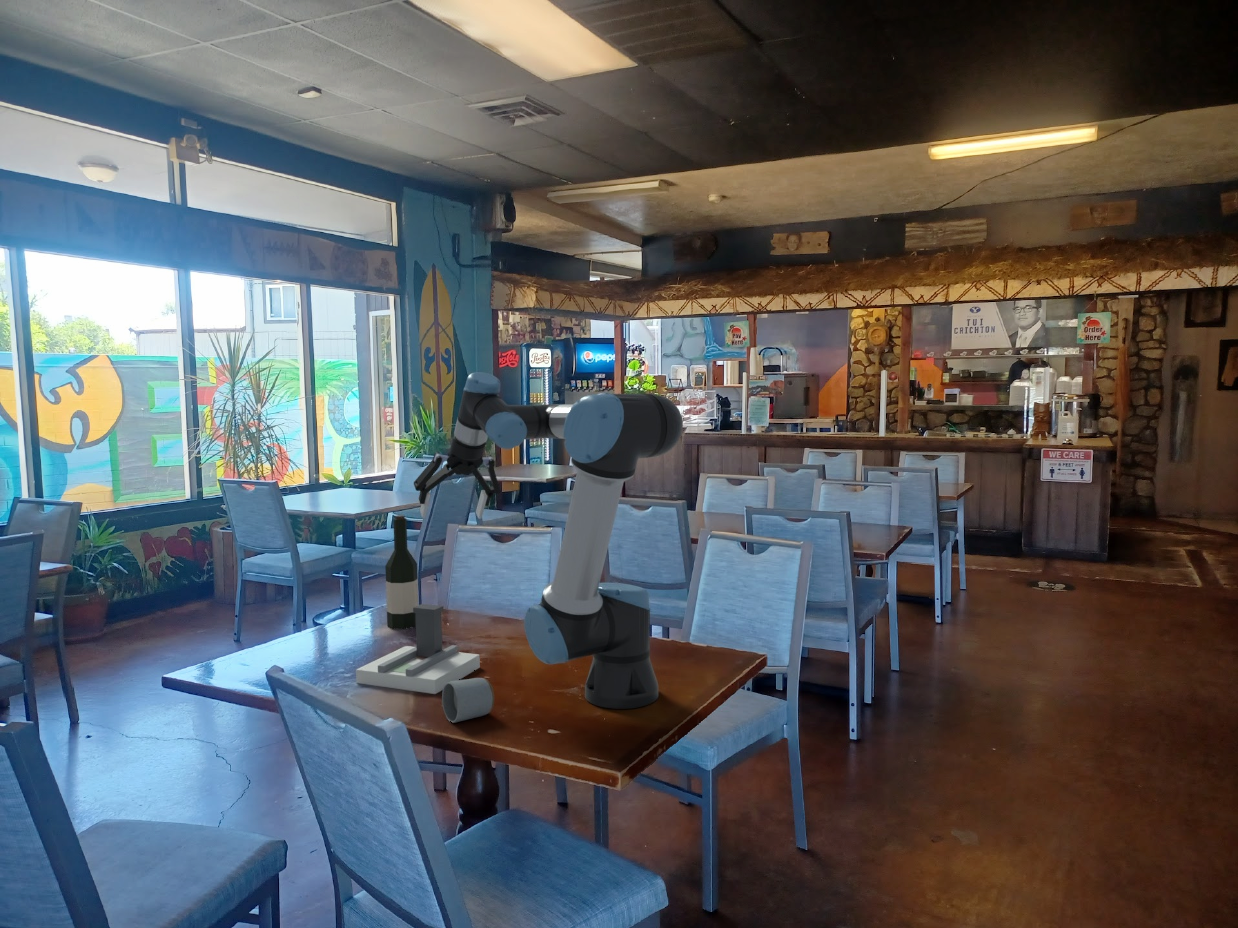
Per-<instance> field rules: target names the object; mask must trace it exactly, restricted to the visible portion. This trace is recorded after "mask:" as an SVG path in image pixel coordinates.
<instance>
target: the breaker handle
mask: <svg viewBox="0 0 1238 928" xmlns="http://www.w3.org/2000/svg"><path fill="white" fill-rule="evenodd" d="M442 612H444V605H440V604H439V605H438V604H430V603H429V604H428V603H421V604H418V606H416V607H414V608H413V613H416V627H415V634H416V635H415V636H416V638H415V639H416V640H415V641H416V647H417V656H420V657H430V656H432V655H434V654H436V653H438V652H440V651H442V650H443V627H442Z"/></svg>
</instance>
